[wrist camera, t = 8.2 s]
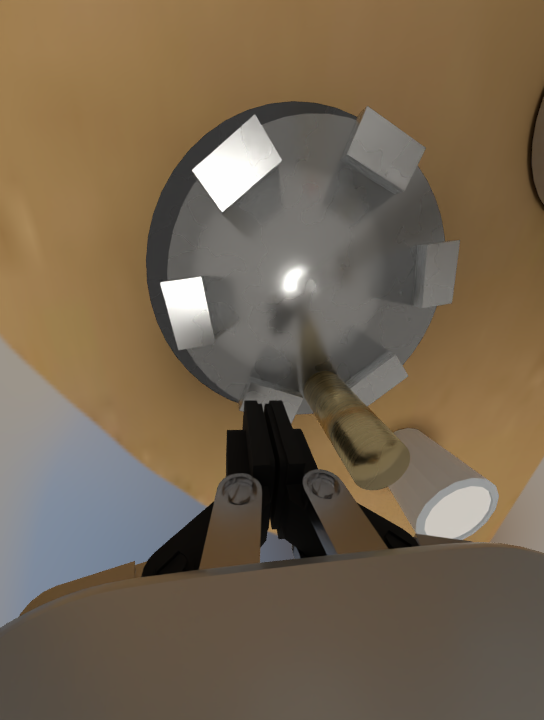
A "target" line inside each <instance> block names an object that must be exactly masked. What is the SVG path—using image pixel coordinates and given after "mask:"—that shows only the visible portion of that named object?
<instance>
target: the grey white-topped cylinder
mask: <svg viewBox="0 0 544 720" xmlns="http://www.w3.org/2000/svg"><path fill="white" fill-rule="evenodd" d="M394 434H395V435H396V436H397V437H398V438H399V439H400V441H401V442H402V443H403V444H404V445H405V446H406V447H407V448H408V450H409V453H410V462H409V466H408V468H407V470H406V471H405V473H404V474H403V475H402V477H401V478H400V479H398V480H397V481H396V482H395V483H393V484H392V485H390V486H388V487H389V489H390V490H391V492H392V494H393V495H394V497H395V499H396V500H397V502H398V504H399V505H400V507H401V509H402V511H403V512H404V514H405V516H406V517H407V519H408V521H409V522H410V524H411V526H412V527H413V529H414V531H415V532H416V534H423V535H430V536H437V537H444V538H451V539H458V540H463V539H465V538H466V537H468V536H470V535H472V534H473V533H475V532H476V531H477V530H478V529H479V528H480V527H482V526H483V525H484V524H485V523H486V522H487V521H488V519H489V518H490V516H491V515H492V514H493V512H494V511H495V509H496V505H497V502H498V498H499V495H498V492H497V488H496V486H495V485H494V484H493V483H491V482H490V481H489V480H487V479H486V478H484V477H483V476H482V475H480V474H479V473H478V472H476V471H475V470H473V469H472V468H471V467H469V466H468V465H466V464H465V463H464V462H462V461H461V460H459V459H458V458H457V457H455V456H454V455H453V454H451V453H450V452H448V451H447V450H446V449H444V448H443V447H441V446H440V445H439V444H437V443H436V442H434V441H433V440H432V439H430V438H429V437H427V436H426V435H425V434H423V433H422V432H421V431H419V430H418V429H412V428H406V429H402V430H397V431H396V432H394Z"/></svg>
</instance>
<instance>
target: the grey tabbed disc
mask: <svg viewBox="0 0 544 720" xmlns="http://www.w3.org/2000/svg"><path fill="white" fill-rule="evenodd" d="M425 149H426V148H425V147H424V146H422V145H421V144H420V143H418V142H417V141H415V140H414V139H413V138H411V137H410V136H408V135H407V134H406V133H404V132H403V131H401V130H400V129H399V128H397V127H396V126H395V125H393V124H392V123H390V122H389V121H388V120H386V119H385V118H383V117H382V116H381V115H379V114H378V113H376V112H375V111H374V110H372V109H371V108H369V107H368V106H367V107H366V108H365V109H364V110H363V111H362V112H361V113H360V114H359V115H358V117H357V119H356V120H354V119H352V118H348V117H343V116H338V115H332V114H300V115H294V116H288V117H283V118H280V119H277V120H274V121H271V122H268V123H265V124H262V125H261V124H260V122H259V120H258V118H257V117H256V115H253V116H252V117H251V118H250V119H249V120H248V121H247V122H246V123H244V124H243V125H242V126H241V127H240V128H239V129H238V130H237V131H235V132H234V133H233V134H232V135H231V136H230V137H229V138H228V139H226V140H225V141H224V142H223V143H222V144H221V145H220V146H219V147H217V148H216V149H215V150H214V151H213V152H212V153H211V154H210V155H208V156H207V157H206V158H205V159H204V160H203V161H202V162H201V163H199V164H198V165H197V166H196V167H195V168H194V169H193V170H192V172H193V175H194V177H195V178H196V179H197V180H196V182H195V183H194V184H193V186H192V188H191V190H190V191H189V193H188V195H187V197H186V199H185V201H184V203H183V205H182V207H181V209H180V212H179V215H178V218H177V221H176V223H175V226H174V229H173V234H172V238H171V243H170V248H169V255H168V269H167V279H168V281H163V282H161V283H160V284H161V288H162V292H163V295H164V299H165V303H166V306H167V310H168V314H169V317H170V321H171V325H172V329H173V332H174V336H175V340H176V343H177V347H178V350H183V349H187V351H188V352H189V354H190V355H191V357H192V358H193V360H194V361H195V363H196V364H197V366H198V367H199V368H200V369H201V370H202V371H203V372H204V373H205V375H206V376H207V377H208V378H209V379H210V380H211V381H212V382H214V383H215V384H216V385H217V386H218V387H219V388H221V389H222V390H223V391H225V392H226V393H228V394H229V395H231V396H232V397H234V398H236V399H238V400H240V401H239V411H243V412H244V401H245V400H257V402H258V404H262V407H263V411H264V406H265V404H269V401H270V400H282V401H283V404H284V407H285V409H286V412H287V415H288V418H289V420H290V423H292V421H293V419H294V417H295V415H296V414H312V413H314V415H315V416H316V418H317V420H318V421H319V423H320V425H321V426H322V428H323V430H324V431H325V433H326V435H327V436H328V438H329V440H330V441H331V443H332V445H333V447H334V448H335V450H336V452H337V453H338V455H339V457H340V458H341V460H342V462H343V463H344V465H345V467H346V468H347V470H348V472H349V473H350V475H351V477H352V478H353V480H354V482H355V483H356V484H357V485H358V486H359V487H361V488H363V489H366V490H379V489H383V488H385V487H388V486H390V485H392V484H393V483H395V482H396V481H397V480H398V479H400V478H401V477H402V475H403V474H404V473H405V471H406V470H407V468H408V466H409V462H410V453H409V450H408V448H407V447H406V446H405V445H404V444H403V443H402V442H401V441H400V439H399V438H398V437H397V436H396V435H395V434H394V433H393V432H392V431H391V430H390V429H389V428H388V427H387V426H386V425H385V424H384V423H383V422H382V421H381V420H380V419H379V418H378V417H377V416H376V415H375V414H374V413H373V412H372V411H371V410H370V409H369V408H368V407H367V406H368V405H370V404H371V403H373V402H374V401H375V400H377V399H378V398H379V397H381V396H382V395H383V394H385V393H386V392H387V391H389V390H390V389H392V388H393V387H394V386H396V385H397V384H398V383H400V382H401V381H402V380H404V379H405V378H407V377H408V375H407V373H406V371H405V369H404V368H403V366H402V365H403V364H404V363H405V362H406V360H407V359H408V358H409V357H410V355H411V354H412V353H413V351H414V350H415V348H416V347H417V345H418V344H419V342H420V341H421V339H422V338H423V336H424V334H425V332H426V330H427V328H428V326H429V324H430V322H431V319H432V317H433V314H434V312H435V309H436V307H437V306H438V305H444V304H450V303H452V298H453V291H454V283H455V275H456V267H457V260H458V252H459V244H460V240H454V241H445V239H444V231H443V225H442V219H441V215H440V212H439V208H438V205H437V202H436V199H435V196H434V194H433V192H432V190H431V188H430V186H429V183H428V181H427V179H426V178H425V176H424V175H423V173H422V172H421V170H420V169H419V167H418V166H417V165H418V163H419V161H420V159H421V157H422V155H423V153H424V151H425Z"/></svg>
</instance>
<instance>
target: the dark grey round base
mask: <svg viewBox="0 0 544 720" xmlns="http://www.w3.org/2000/svg"><path fill="white" fill-rule="evenodd" d="M300 114H332V115H338V116H343V117H348V118H352V119H354V120H356V119H357V117H356V116H354V115H352V114H349V113H347V112H345V111H342V110H340V109H338V108H334V107H330V106H326V105H322V104H318V103H310V102H295V101H291V102H282V103H273V104H267V105H264V106H260V107H257V108H253V109H250V110H247V111H244V112H242V113H240V114H238V115H236V116H234V117H232V118H230V119H228V120H226V121H224V122H223V123H221V124H220V125H218V126H217V127H216V128H214V129H213V130H211V131H210V132H208V133H207V134H206V135H205V136H203V137H202V138H201V139H200V140H199V141H198V142H197V143H196V144H195V145H194V146H193V147H192V148H191V149H190V150H189V151H188V152H187V153H186V155H185V156H184V157H183V159H182V160H181V161H180V163H179V164H178V165H177V167H176V168H175V169H174V170H173V172H172V174H171V176H170V178H169V179H168V181H167V183H166V185H165V187H164V188H163V190H162V192H161V195H160V198H159V200H158V203H157V206H156V208H155V211H154V213H153V217H152V222H151V226H150V231H149V235H148V244H147V255H146V268H147V284H148V289H149V294H150V300H151V304H152V307H153V311H154V314H155V317H156V320H157V323H158V325H159V327H160V329H161V331H162V333H163V335H164V338H165V340H166V341H167V343H168V344H169V346H170V348H171V349H172V351H173V352H174V354H175V355H176V357H177V358H178V359H179V360H180V361H181V363H182V364H183V365H184V366H185V367H186V369H187V370H188V371H189V372H190V373H191V374H193V375H194V376H195V377H196V378H197V379H198V380H199V381H200V382H201V383H203V384H204V385H206V386H207V387H209V388H210V389H211V390H213V391H214V392H216V393H218V394H220V395H222V396H223V397H225V398H227V399H229V400H232V401H234V402H237V403H239V401H240V400H238V399H236V398H234V397H232V396H231V395H229V394H228V393H226V392H225V391H223V390H222V389H221V388H219V387H218V386H217V385H216V384H215V383H214V382H212V381H211V380H210V379H209V378H208V377H207V376H206V375H205V373H204V372H203V371H202V370H201V369H200V368H199V367H198V366H197V364H196V363H195V361H194V360H193V358H192V357H191V355H190V354H189V352H188V351H187V349H183V350H178V347H177V343H176V340H175V336H174V332H173V329H172V325H171V321H170V317H169V314H168V310H167V306H166V303H165V299H164V295H163V292H162V288H161V284H160V283H161V282H163V281H168V279H167V269H168V255H169V248H170V243H171V238H172V234H173V229H174V226H175V223H176V221H177V218H178V215H179V212H180V209H181V207H182V205H183V203H184V201H185V199H186V197H187V195H188V193H189V191H190V190H191V188H192V186H193V184H194V183H195V182H196V180H197V179H196V178H195V177H194V175H193V172H192V170H193V169H194V168H195V167H196V166H197V165H198V164H199V163H201V162H202V161H203V160H204V159H205V158H206V157H207V156H208V155H210V154H211V153H212V152H213V151H214V150H215V149H216V148H217V147H219V146H220V145H221V144H222V143H223V142H224V141H225V140H226V139H228V138H229V137H230V136H231V135H232V134H233V133H234V132H235V131H237V130H238V129H239V128H240V127H241V126H242V125H243V124H244V123H246V122H247V121H248V120H249V119H250V118H251V117H252V116H253V115H256V117H257V118H258V120H259V122H260V124H261V125H262V124H265V123H268V122H271V121H274V120H277V119H280V118H283V117H288V116H294V115H300Z"/></svg>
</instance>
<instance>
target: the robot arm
mask: <svg viewBox="0 0 544 720" xmlns="http://www.w3.org/2000/svg"><path fill="white" fill-rule="evenodd" d="M532 170H533V179H534V183H535V186H536V189H537V192H538V196H539V198H540V199H541V201H542V202H543V204H544V97H543V100H542V103H541V107H540V110H539V113H538V116H537V120H536V125H535V131H534V136H533V142H532ZM269 519H270V521H271V527H272V529H277V533H278V538H279V539H286V540H287V541H288V542H290V543H291V544H292V551H293V556H294V558H295V559H292V560H283V561H273V562H264V563H260V547H261V546H262V545H263V544H264V542H265V541H266V538H267V530H268V528H269ZM0 720H544V553H542V552H539V551H535V550H531V549H527V548H524V547H520V546H514V545H508V544H502V543H486V542H471V541H465V540H458V539H451V538H444V537H437V536H430V535H423V534H415V536H414V537H412V536H411V535H410V534H409V533H408V532H406V531H405V530H403V529H402V528H400V527H398V526H397V525H395V524H393V523H391V522H390V521H388V520H386V519H385V518H383V517H381V516H379V515H378V514H376V513H374V512H372V511H371V510H369V509H367V508H365V507H364V506H362V505H360V504H358V503H357V502H356V501H355V499H354V498H353V497H352V495H351V494H350V492H349V491H348V489H347V488H346V486H345V485H344V483H343V482H342V481H341V480H340V479H339V477H337V476H336V475H335V474H333V473H331V472H329V471H326V470H321V469H319V470H318V468H317V465H316V463H315V461H314V458H313V456H312V454H311V451H310V449H309V446H308V444H307V442H306V439H305V437H304V434H303V432H302V430H301V429H293V428H292V426H291V423H290V420H289V418H288V415H287V412H286V409H285V407H284V404H283V401H282V400H270V401H269V404H265V406H264V411H263V407H262V404H258V402H257V400H245V401H244V415H243V430H227V448H226V478H224V479H223V480H222V481H221V482H220V483H219V486H218V488H217V492H216V496H215V501H214V502H213V503H212V504H210V505H209V506H208V507H207V508H206V509H205V510H203V511H202V512H201V513H200V514H199V515H198V516H196V517H195V518H194V519H193V520H192V521H191V522H189V523H188V524H187V525H186V526H185V527H184V528H183V529H181V530H180V531H179V532H178V533H177V534H176V535H174V536H173V537H172V538H171V539H170V540H169V541H167V542H166V543H165V544H164V545H163V546H162V547H161V548H159V549H158V550H157V551H156V552H155V553H154V554H153V555H152V556H151V557H150V558H149V559H148V561H147V562H144V563H141V564H137V565H135V561H134V562H130V563H128V564H124V565H121V566H118V567H115V568H112V569H108V570H105V571H102V572H99V573H96V574H93V575H90V576H87V577H83V578H80V579H77V580H74V581H71V582H68V583H64V584H61V585H58V586H55V587H53V588H51V589H49V590H47V591H44V592H43V593H41V594H40V595H39V596H37V597H36V598H35V599H34V600H32V601H31V602H30V603H29V604H28V605H27V607H26V608H25V609H24V610H23V612H21V614H20V616H19V617H18V618H16V619H14V620H13V621H11V622H9V623H7V624H6V625H4V626H2V627H1V628H0Z"/></svg>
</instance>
